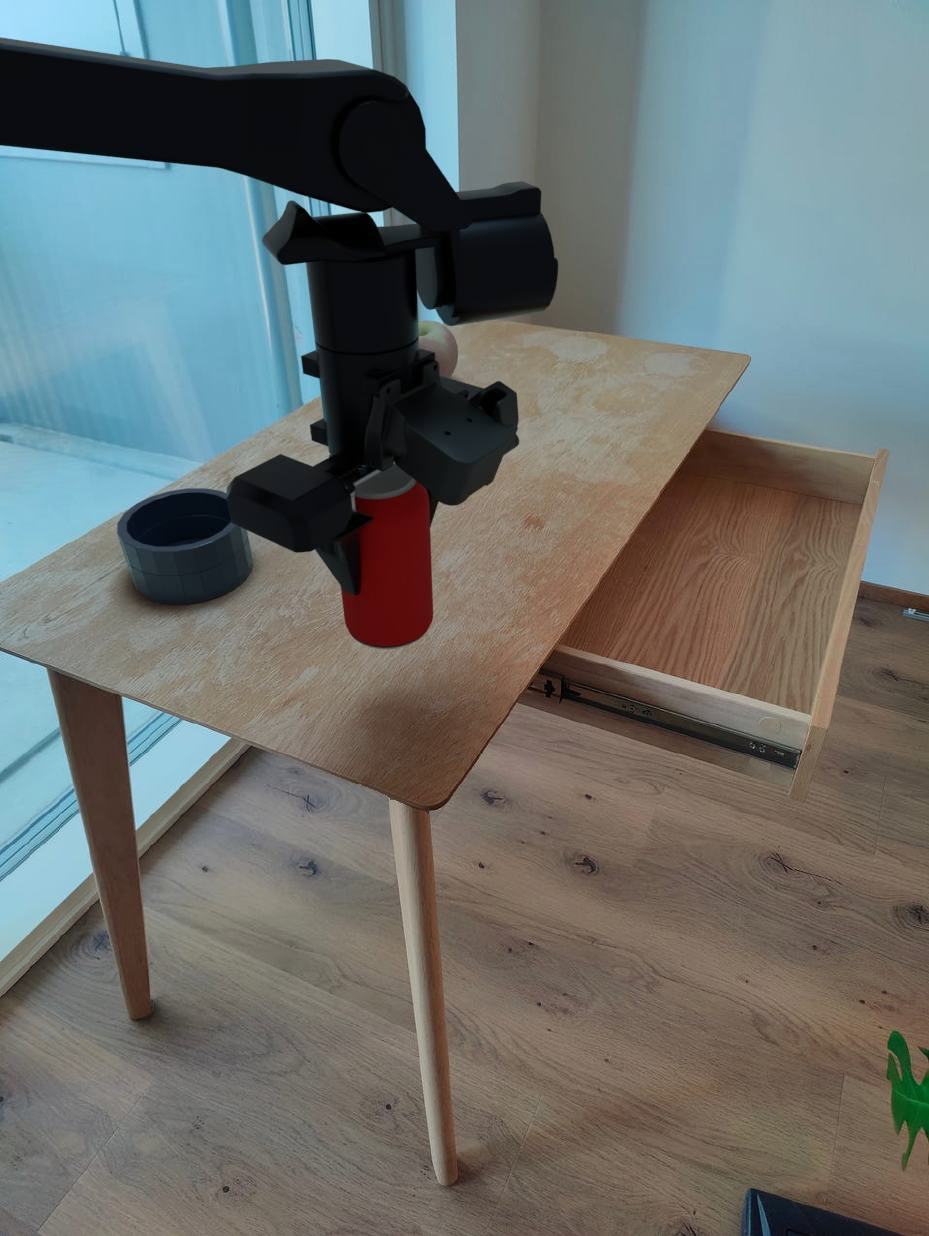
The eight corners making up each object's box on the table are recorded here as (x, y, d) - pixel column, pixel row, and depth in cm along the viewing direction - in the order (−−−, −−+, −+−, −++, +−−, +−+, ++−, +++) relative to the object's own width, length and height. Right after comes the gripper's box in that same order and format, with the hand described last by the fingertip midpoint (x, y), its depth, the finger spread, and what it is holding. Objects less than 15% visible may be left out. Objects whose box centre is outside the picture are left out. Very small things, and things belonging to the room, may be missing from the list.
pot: (184, 619, 70) (170, 566, 67) (108, 577, 75) (91, 525, 72) (277, 562, 77) (267, 510, 74) (201, 526, 82) (190, 476, 79)
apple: (388, 382, 110) (384, 321, 105) (435, 368, 114) (433, 309, 109) (421, 401, 105) (419, 338, 100) (470, 387, 109) (470, 325, 104)
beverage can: (339, 656, 56) (319, 501, 49) (353, 601, 61) (337, 452, 54) (430, 659, 56) (423, 503, 49) (436, 603, 61) (432, 453, 53)
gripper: (361, 435, 36) (384, 697, 46) (580, 319, 48) (562, 547, 58) (194, 376, 41) (246, 623, 51) (428, 285, 53) (435, 499, 63)
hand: (384, 570), depth 55 cm, fingers closed on beverage can, 6 cm apart
